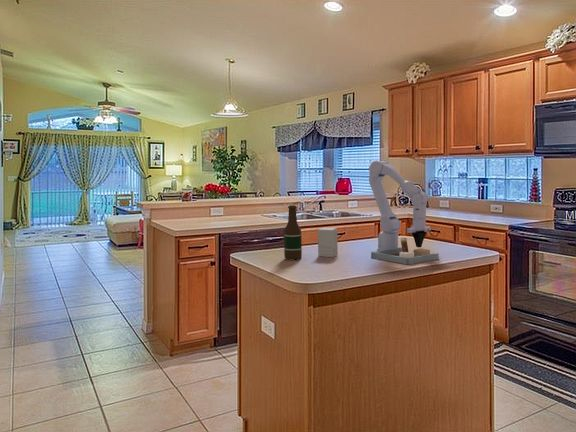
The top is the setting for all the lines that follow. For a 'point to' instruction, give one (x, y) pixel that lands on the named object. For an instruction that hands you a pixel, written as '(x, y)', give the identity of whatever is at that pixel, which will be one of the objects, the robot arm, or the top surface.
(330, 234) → the supplement box
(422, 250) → the kraft box
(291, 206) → the beer bottle
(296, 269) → the top surface
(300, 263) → the top surface
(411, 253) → the white short round piece
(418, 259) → the tray
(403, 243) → the tin
